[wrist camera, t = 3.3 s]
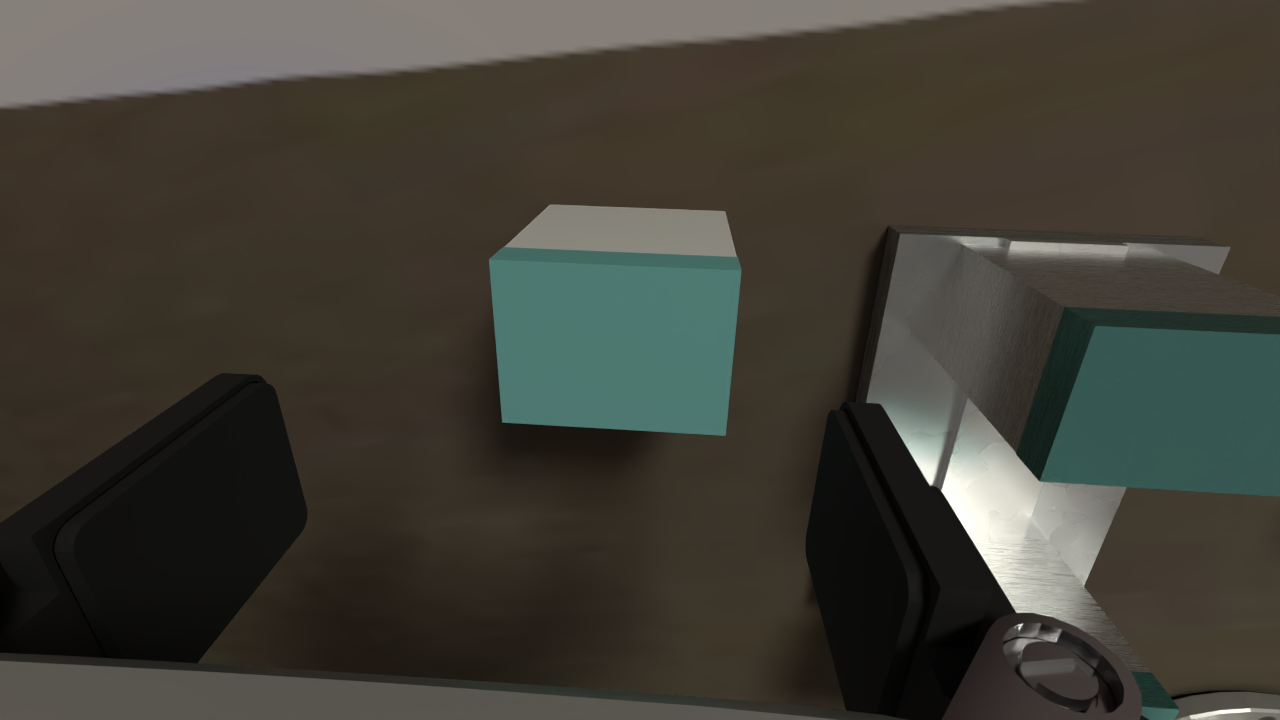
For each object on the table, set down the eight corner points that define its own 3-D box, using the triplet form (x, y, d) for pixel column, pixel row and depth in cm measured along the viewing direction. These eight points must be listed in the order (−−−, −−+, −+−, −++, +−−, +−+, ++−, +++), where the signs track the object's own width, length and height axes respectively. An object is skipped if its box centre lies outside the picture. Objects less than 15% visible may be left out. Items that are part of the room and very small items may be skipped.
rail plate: (1052, 601, 27) (1193, 805, 19) (819, 585, 27) (868, 777, 20) (1201, 237, 20) (1504, 334, 13) (889, 225, 21) (1002, 311, 13)
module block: (715, 334, 23) (725, 435, 16) (554, 326, 23) (501, 422, 17) (725, 210, 21) (741, 270, 15) (549, 203, 21) (489, 259, 15)
